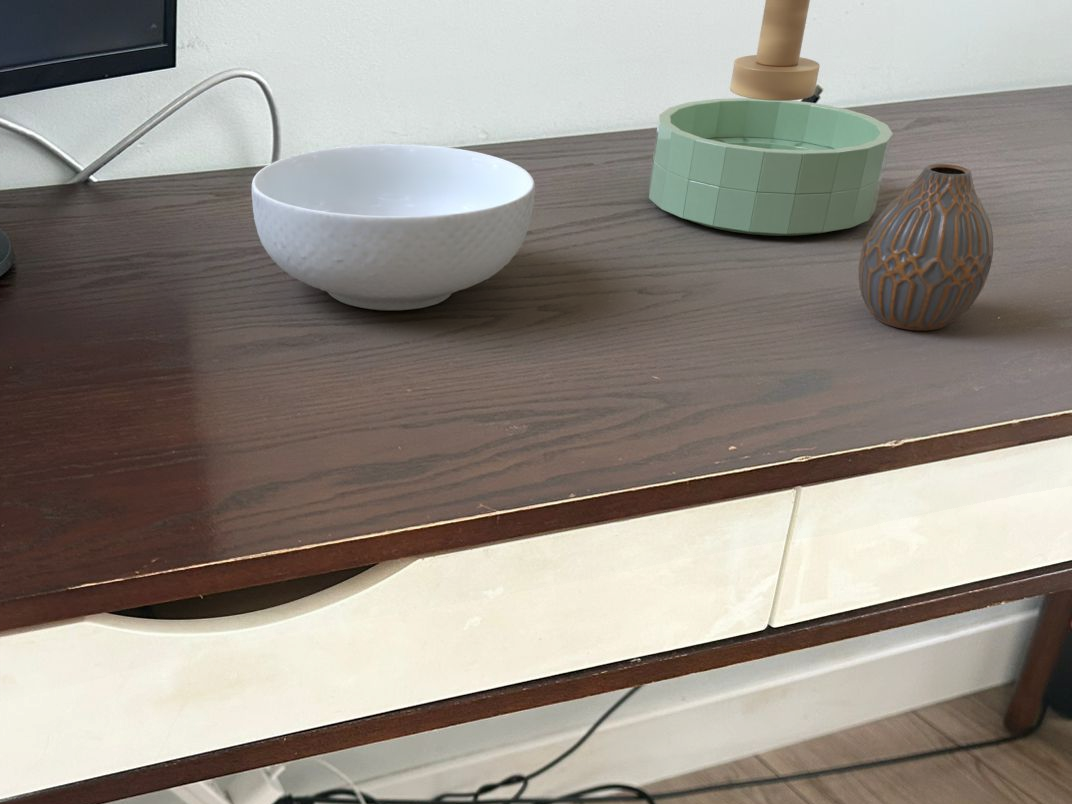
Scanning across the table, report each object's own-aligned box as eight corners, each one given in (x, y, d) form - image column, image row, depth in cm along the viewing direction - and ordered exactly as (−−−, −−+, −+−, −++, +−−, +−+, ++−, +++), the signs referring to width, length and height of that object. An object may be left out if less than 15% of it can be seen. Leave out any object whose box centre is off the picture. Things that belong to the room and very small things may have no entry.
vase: (854, 335, 79) (890, 182, 74) (841, 294, 84) (874, 149, 80) (983, 345, 77) (1028, 190, 73) (961, 303, 83) (1002, 156, 78)
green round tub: (855, 184, 104) (873, 103, 101) (887, 249, 92) (910, 158, 88) (645, 173, 107) (657, 94, 104) (649, 234, 94) (662, 146, 91)
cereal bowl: (508, 246, 92) (518, 139, 89) (541, 340, 78) (555, 218, 75) (258, 245, 93) (256, 139, 89) (246, 338, 79) (244, 216, 75)
